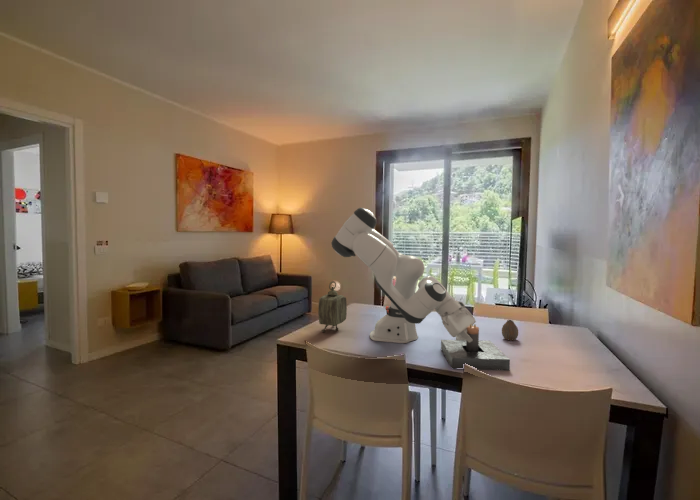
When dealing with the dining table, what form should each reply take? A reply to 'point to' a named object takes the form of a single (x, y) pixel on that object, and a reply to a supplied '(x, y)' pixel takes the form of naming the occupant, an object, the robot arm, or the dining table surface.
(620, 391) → the dining table surface
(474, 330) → the plug
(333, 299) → the tabletop clock
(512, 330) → the brown textured egg shape
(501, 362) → the socket block
